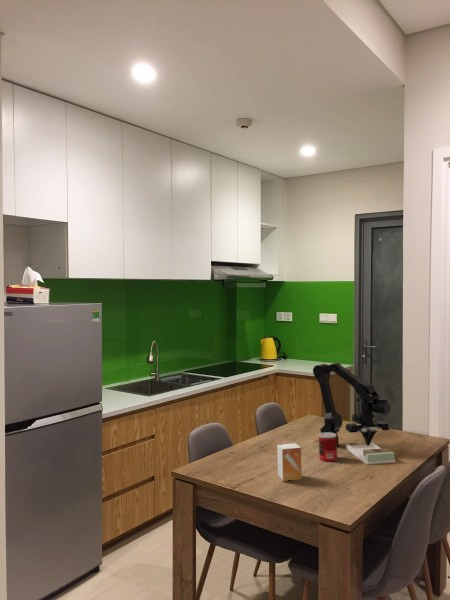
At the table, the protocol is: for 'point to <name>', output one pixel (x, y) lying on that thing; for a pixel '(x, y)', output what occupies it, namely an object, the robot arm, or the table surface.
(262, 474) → the table surface
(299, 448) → the small box
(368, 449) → the block
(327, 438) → the canned food
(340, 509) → the table surface
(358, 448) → the track
